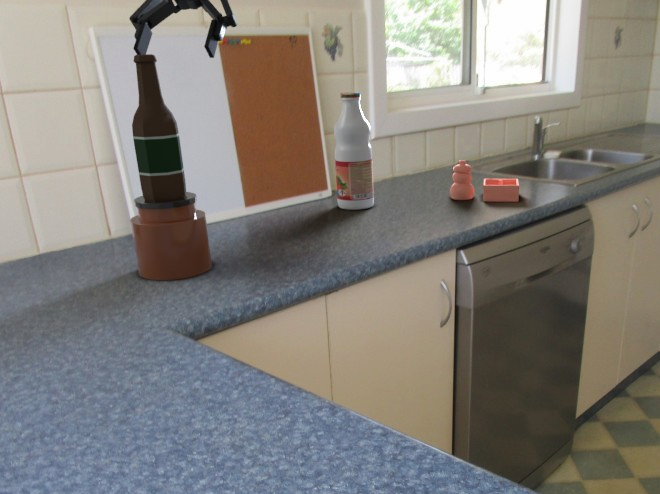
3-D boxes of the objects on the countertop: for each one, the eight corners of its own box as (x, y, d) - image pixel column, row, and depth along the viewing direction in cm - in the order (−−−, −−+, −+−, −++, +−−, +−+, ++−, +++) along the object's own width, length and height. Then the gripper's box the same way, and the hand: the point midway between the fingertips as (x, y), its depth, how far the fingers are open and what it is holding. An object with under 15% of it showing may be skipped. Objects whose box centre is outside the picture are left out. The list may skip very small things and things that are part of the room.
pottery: (517, 194, 180) (518, 157, 177) (518, 201, 172) (519, 163, 168) (451, 194, 183) (451, 158, 179) (448, 201, 174) (449, 163, 171)
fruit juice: (369, 210, 166) (364, 93, 156) (333, 209, 167) (326, 94, 158) (378, 202, 174) (373, 91, 164) (343, 202, 176) (337, 91, 166)
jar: (138, 264, 127) (126, 194, 122) (207, 255, 131) (199, 187, 127) (139, 284, 116) (126, 208, 111) (216, 274, 120) (206, 200, 115)
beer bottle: (193, 197, 118) (174, 53, 109) (149, 203, 114) (125, 54, 105) (180, 191, 124) (161, 54, 115) (137, 196, 120) (114, 55, 111)
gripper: (265, -16, 131) (246, 66, 122) (147, -11, 134) (120, 69, 125) (253, -50, 124) (231, 35, 115) (129, -44, 127) (99, 39, 119)
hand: (173, 53), depth 120 cm, fingers open, 13 cm apart
